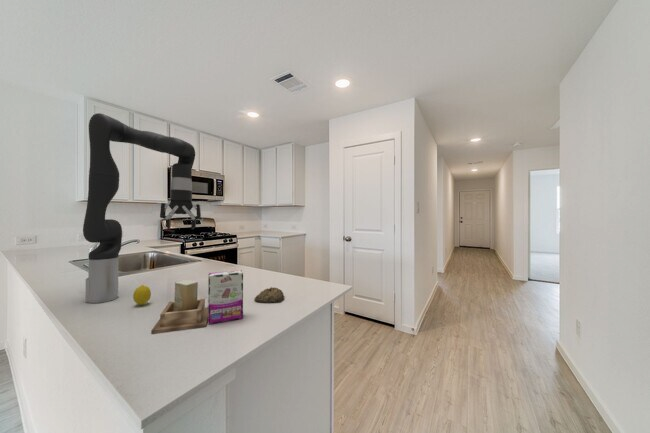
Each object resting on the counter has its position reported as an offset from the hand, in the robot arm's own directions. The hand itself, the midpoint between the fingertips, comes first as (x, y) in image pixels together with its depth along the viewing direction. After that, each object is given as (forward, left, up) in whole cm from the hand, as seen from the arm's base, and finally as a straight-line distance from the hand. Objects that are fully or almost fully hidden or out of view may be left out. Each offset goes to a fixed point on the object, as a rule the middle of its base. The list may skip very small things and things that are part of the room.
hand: (180, 228), depth 100 cm
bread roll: (+36, -6, -31) cm, 48 cm away
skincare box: (+5, -20, -29) cm, 36 cm away
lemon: (-13, 0, -30) cm, 33 cm away
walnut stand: (+5, -20, -30) cm, 36 cm away
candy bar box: (+18, -23, -30) cm, 42 cm away
